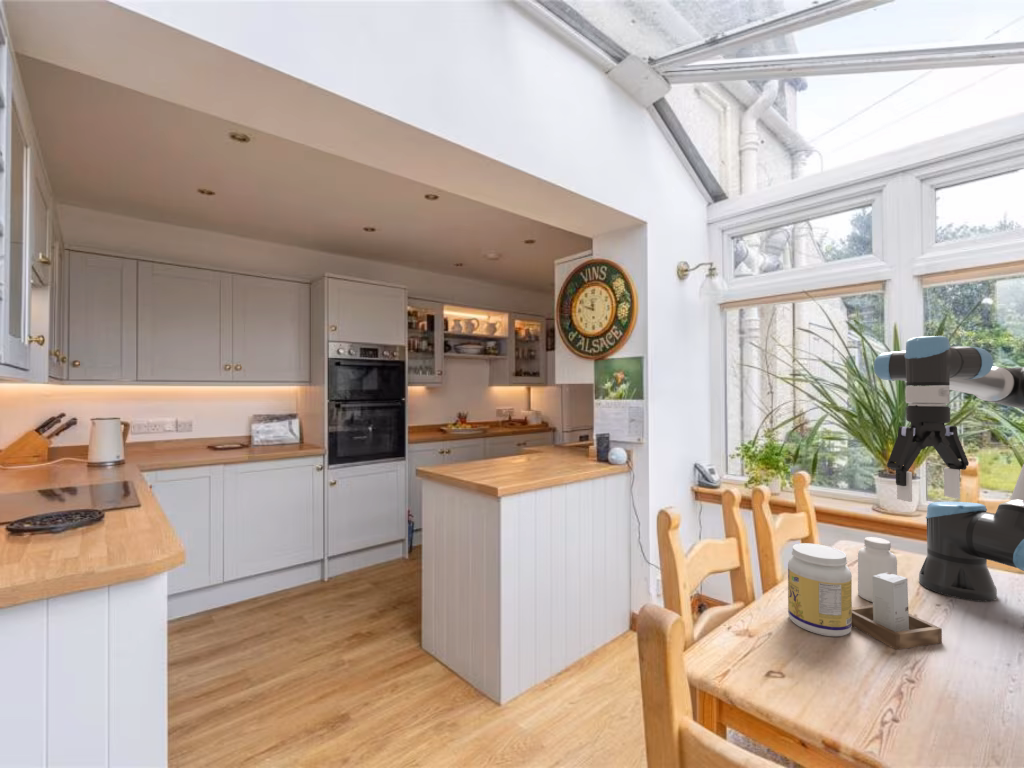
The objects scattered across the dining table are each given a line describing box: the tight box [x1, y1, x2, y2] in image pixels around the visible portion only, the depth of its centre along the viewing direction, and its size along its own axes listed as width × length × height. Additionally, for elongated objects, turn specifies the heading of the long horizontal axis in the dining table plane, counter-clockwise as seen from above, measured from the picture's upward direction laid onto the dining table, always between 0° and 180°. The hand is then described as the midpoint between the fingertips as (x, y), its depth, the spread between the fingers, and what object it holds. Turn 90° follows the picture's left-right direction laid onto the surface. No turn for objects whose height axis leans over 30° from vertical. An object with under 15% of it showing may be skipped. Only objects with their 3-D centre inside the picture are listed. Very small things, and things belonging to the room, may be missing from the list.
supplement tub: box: [787, 542, 853, 637], centre depth 108 cm, size 12×12×17 cm
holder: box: [852, 604, 943, 651], centre depth 104 cm, size 12×12×3 cm
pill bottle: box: [857, 536, 898, 603], centre depth 121 cm, size 8×8×15 cm
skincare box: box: [872, 572, 910, 632], centre depth 104 cm, size 6×4×12 cm
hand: (928, 498), depth 107 cm, fingers open, 13 cm apart
